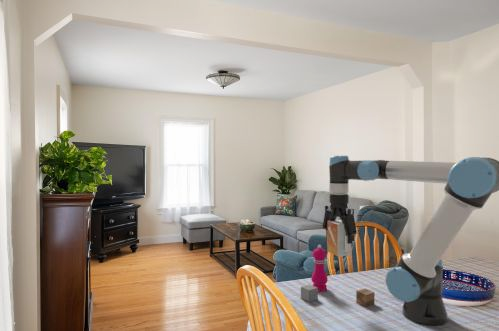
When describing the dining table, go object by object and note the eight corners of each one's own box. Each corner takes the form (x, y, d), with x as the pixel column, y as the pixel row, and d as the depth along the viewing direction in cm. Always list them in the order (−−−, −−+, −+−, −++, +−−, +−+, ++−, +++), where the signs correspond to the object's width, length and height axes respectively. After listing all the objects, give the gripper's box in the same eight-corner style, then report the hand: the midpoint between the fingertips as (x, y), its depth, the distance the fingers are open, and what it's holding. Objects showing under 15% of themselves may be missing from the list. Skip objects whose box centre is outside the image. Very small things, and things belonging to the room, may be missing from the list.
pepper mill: (326, 286, 167) (326, 243, 167) (328, 292, 160) (328, 247, 159) (310, 285, 168) (310, 243, 167) (312, 291, 161) (312, 246, 160)
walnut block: (374, 304, 147) (374, 292, 146) (366, 307, 144) (366, 294, 144) (364, 300, 151) (364, 288, 151) (356, 302, 148) (356, 290, 148)
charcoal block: (317, 299, 152) (317, 287, 152) (308, 302, 149) (308, 290, 149) (309, 295, 156) (309, 284, 156) (300, 298, 153) (300, 286, 153)
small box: (326, 251, 150) (326, 220, 150) (340, 250, 152) (340, 219, 152) (337, 256, 142) (337, 224, 142) (351, 255, 144) (351, 223, 144)
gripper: (366, 195, 139) (366, 253, 140) (326, 191, 158) (326, 242, 158) (353, 196, 135) (353, 256, 136) (313, 192, 154) (313, 244, 154)
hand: (338, 248), depth 147 cm, fingers closed on small box, 9 cm apart
